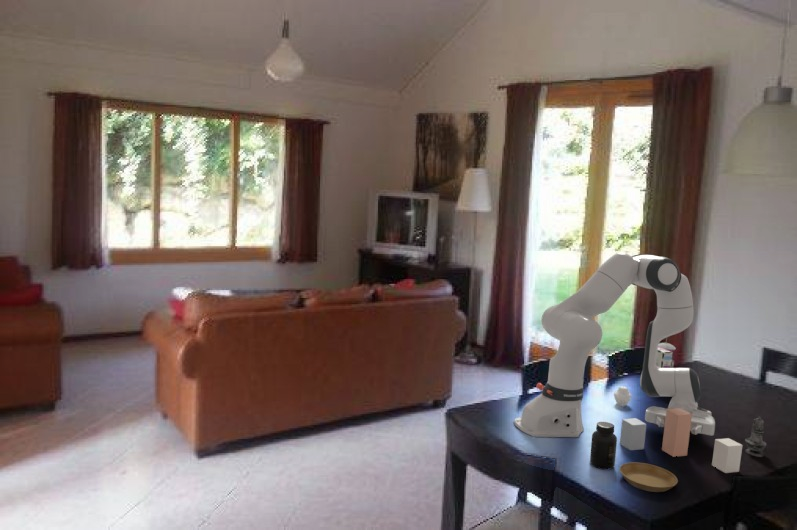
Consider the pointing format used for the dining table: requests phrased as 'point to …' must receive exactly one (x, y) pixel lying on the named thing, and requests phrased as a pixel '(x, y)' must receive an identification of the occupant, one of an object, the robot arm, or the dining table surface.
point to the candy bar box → (664, 358)
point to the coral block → (676, 432)
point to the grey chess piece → (756, 439)
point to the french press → (667, 348)
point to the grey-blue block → (633, 434)
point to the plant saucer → (648, 477)
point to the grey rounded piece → (622, 396)
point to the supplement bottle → (603, 446)
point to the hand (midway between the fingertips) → (677, 428)
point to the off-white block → (727, 455)
